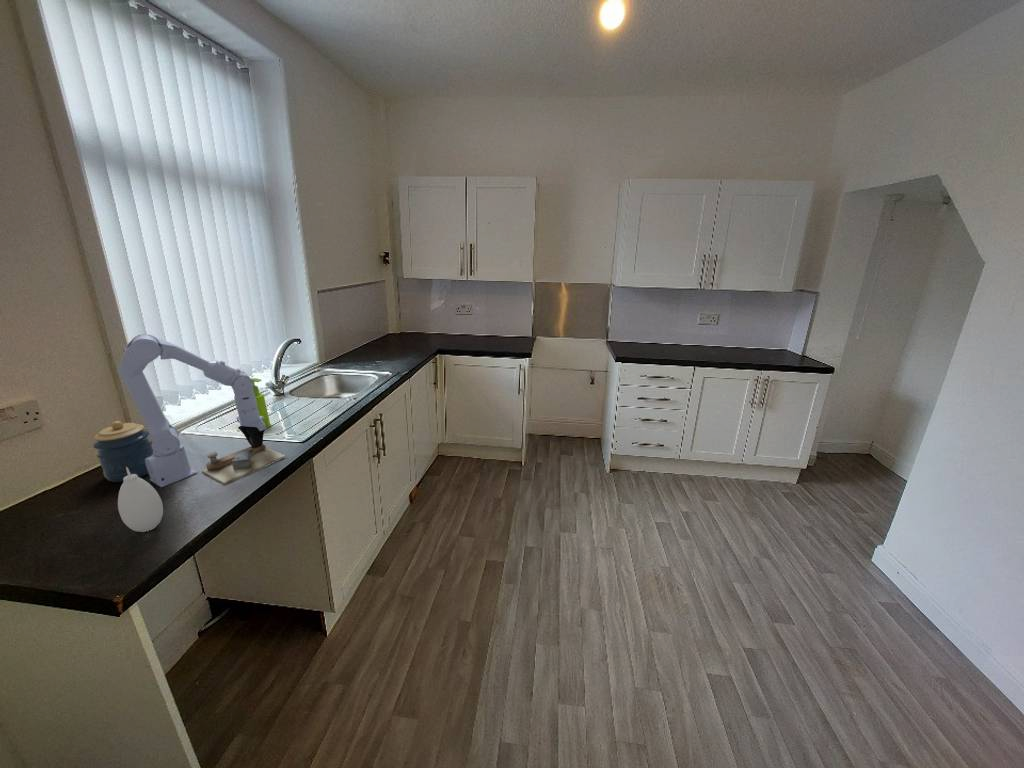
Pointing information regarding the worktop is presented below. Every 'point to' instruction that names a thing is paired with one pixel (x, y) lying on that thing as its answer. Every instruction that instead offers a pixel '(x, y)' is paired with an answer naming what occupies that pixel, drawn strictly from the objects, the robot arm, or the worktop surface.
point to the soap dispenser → (261, 403)
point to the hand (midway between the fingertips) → (256, 444)
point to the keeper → (242, 460)
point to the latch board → (257, 461)
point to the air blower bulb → (139, 504)
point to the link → (229, 457)
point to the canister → (123, 450)
